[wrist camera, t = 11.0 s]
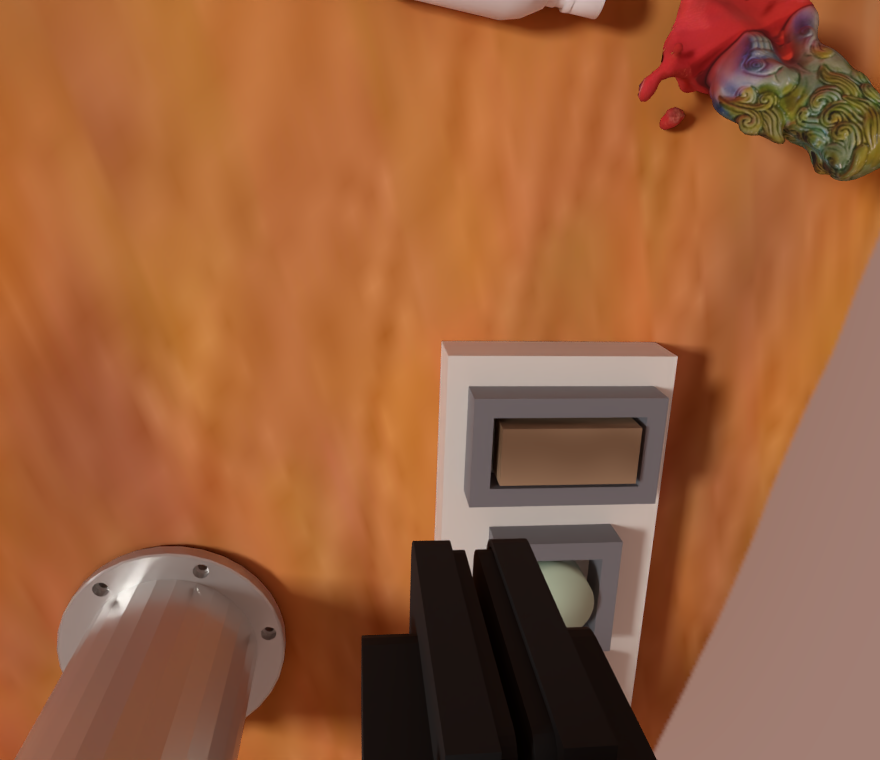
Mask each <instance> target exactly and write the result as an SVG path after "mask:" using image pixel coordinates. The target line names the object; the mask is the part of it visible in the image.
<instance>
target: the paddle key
mask: <svg viewBox="0 0 880 760" xmlns="http://www.w3.org/2000/svg"><path fill="white" fill-rule="evenodd" d="M641 436H642V427H641V426H640V425H639V424H638V423H637V422H636V421H635V420H634V419H632V418H631V417H613V418H496V421H495V438H494V455H493V471H494V474H495V476H496V478H497V481H498V483H499V485H500V486H522V485H581V484H636V477H637V469H638V461H639V453H640V444H641Z"/></svg>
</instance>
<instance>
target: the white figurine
mask: <svg viewBox="0 0 880 760" xmlns="http://www.w3.org/2000/svg"><path fill="white" fill-rule="evenodd" d="M416 1H420V2H425V3H429V4H433V5H437V6H441V7H446V8H450V9H454V10H458V11H462V12H466V13H471V14H475V15H479V16H483V17H487V18H492V19H496V20H509V19H520V18H522V17H525V16H527V15H529V14H532V13H534V12H537V11H539V10H541V9H543V8H544V7H545V6H547V7H551V8H553V7H558V8H559V11H560V12H562V13H569V14H573V15H577V16H581V17H586V18H590V19H596V18H597V17H598V16H599V14H600V12H601V10H602V8H603V6H604V4H605V1H606V0H416Z"/></svg>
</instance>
